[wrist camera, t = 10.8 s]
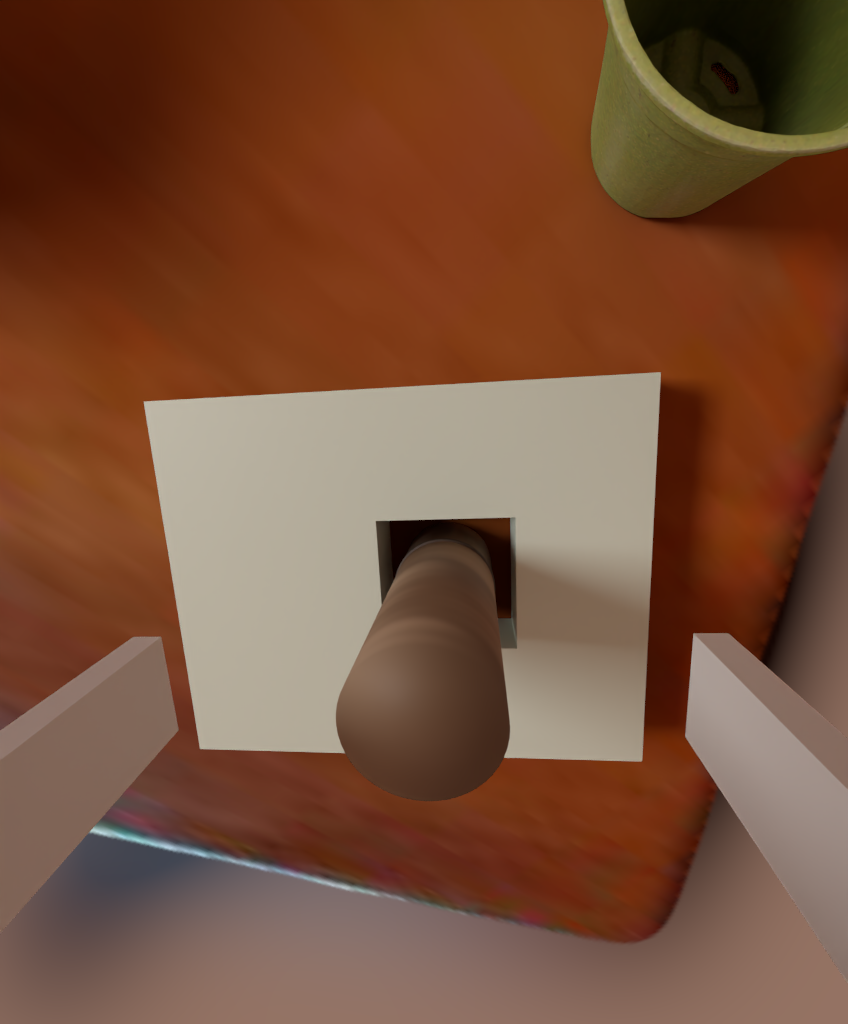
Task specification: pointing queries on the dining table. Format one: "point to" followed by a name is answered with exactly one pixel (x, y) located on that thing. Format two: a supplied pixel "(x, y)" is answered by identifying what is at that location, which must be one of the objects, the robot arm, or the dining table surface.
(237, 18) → the dining table surface
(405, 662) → the peg
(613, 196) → the plant pot
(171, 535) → the board
